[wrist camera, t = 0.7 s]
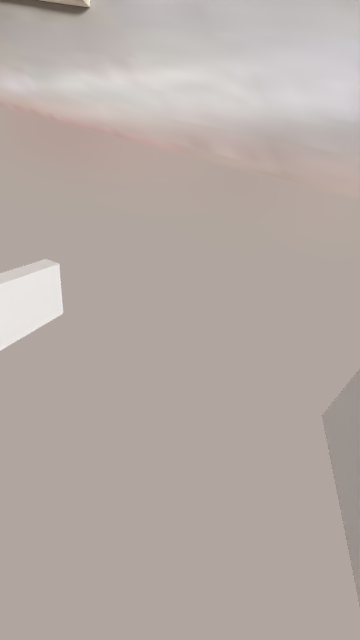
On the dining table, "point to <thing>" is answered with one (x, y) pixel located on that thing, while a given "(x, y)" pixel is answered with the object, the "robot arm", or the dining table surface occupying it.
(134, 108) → the dining table surface
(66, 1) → the board
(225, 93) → the dining table surface
